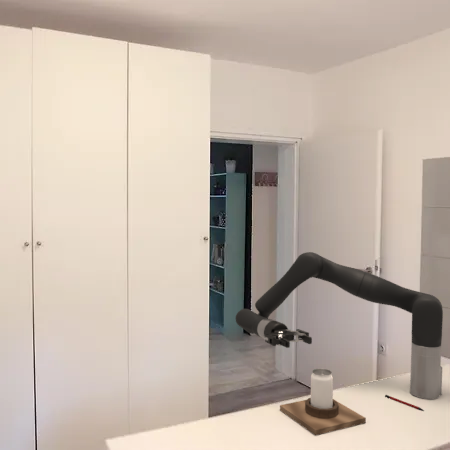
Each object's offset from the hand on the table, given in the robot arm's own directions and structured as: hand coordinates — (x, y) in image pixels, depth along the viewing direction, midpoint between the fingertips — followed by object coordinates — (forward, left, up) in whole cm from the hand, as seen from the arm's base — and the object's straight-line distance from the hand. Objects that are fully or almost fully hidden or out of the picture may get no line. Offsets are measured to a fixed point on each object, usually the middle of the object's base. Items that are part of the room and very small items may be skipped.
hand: (300, 342), depth 158 cm
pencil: (-30, +16, -20) cm, 39 cm away
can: (0, +12, -18) cm, 21 cm away
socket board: (0, +12, -19) cm, 22 cm away
